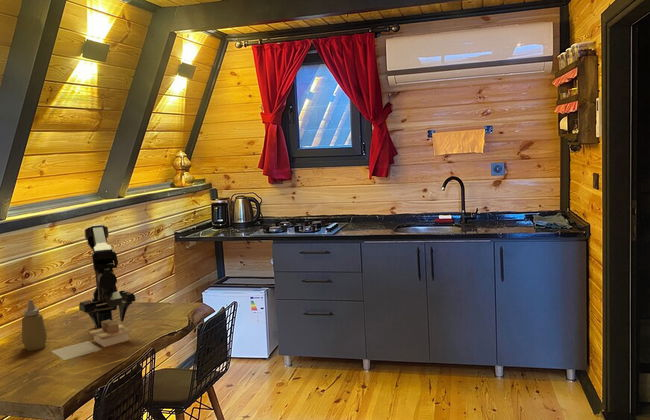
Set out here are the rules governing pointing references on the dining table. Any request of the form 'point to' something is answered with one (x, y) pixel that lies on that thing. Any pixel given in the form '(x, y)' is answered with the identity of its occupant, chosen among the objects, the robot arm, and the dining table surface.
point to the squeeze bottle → (33, 328)
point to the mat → (76, 350)
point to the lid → (110, 330)
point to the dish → (112, 340)
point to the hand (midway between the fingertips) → (109, 324)
